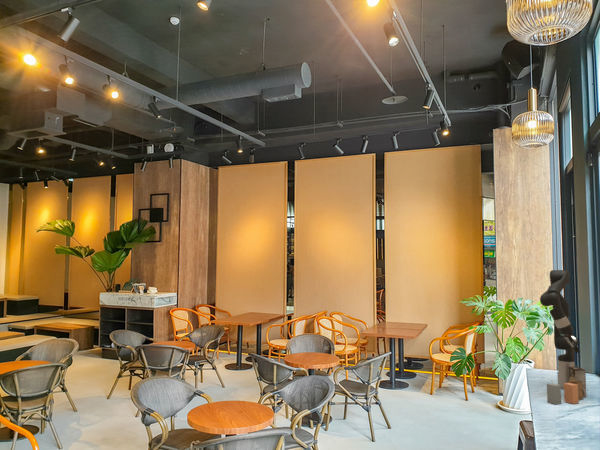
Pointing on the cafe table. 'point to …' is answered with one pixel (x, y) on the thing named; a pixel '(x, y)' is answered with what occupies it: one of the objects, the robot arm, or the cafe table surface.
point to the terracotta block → (571, 393)
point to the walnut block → (579, 383)
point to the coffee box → (578, 377)
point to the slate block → (554, 393)
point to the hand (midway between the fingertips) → (577, 352)
